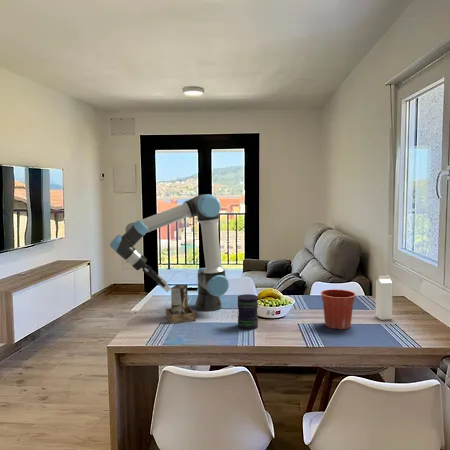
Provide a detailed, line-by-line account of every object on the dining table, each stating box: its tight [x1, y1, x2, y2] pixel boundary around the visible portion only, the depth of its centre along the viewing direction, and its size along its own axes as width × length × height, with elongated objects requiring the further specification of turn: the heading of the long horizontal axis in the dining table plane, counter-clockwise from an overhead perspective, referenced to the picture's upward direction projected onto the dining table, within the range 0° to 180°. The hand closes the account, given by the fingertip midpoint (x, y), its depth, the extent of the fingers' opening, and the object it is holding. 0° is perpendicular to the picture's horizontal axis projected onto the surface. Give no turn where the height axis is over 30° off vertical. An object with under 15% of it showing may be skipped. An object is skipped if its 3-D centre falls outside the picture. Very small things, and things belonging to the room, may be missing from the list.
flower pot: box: [320, 288, 357, 330], centre depth 203 cm, size 16×16×16 cm
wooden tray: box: [165, 306, 196, 325], centre depth 218 cm, size 13×14×4 cm
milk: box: [375, 274, 393, 321], centre depth 214 cm, size 6×6×22 cm
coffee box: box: [170, 284, 189, 315], centre depth 218 cm, size 9×6×16 cm
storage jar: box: [237, 293, 259, 331], centre depth 203 cm, size 10×10×15 cm
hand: (167, 287), depth 216 cm, fingers open, 13 cm apart
